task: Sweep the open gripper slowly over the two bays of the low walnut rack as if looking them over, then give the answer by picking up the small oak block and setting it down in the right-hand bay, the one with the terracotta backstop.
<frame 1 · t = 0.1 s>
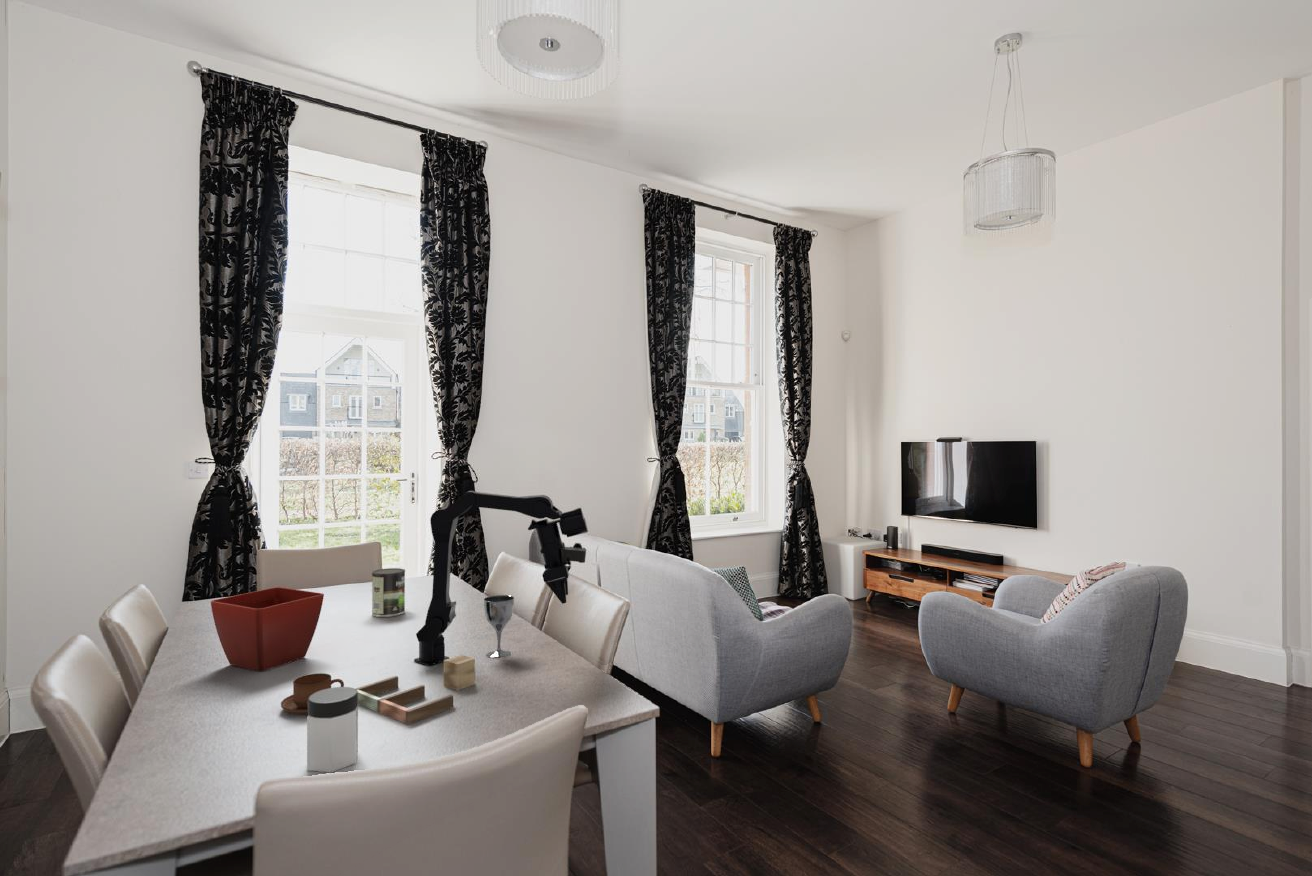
hand: (565, 599, 181), 15 cm above the table, tool pointing down, fingers open, 9 cm apart
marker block: (459, 684, 161), on the table
cup and saucer: (312, 708, 147), on the table
wine glass: (499, 654, 184), on the table
plant pot: (268, 662, 178), on the table
coffee can: (388, 613, 227), on the table
jar: (333, 762, 122), on the table
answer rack: (401, 704, 149), on the table
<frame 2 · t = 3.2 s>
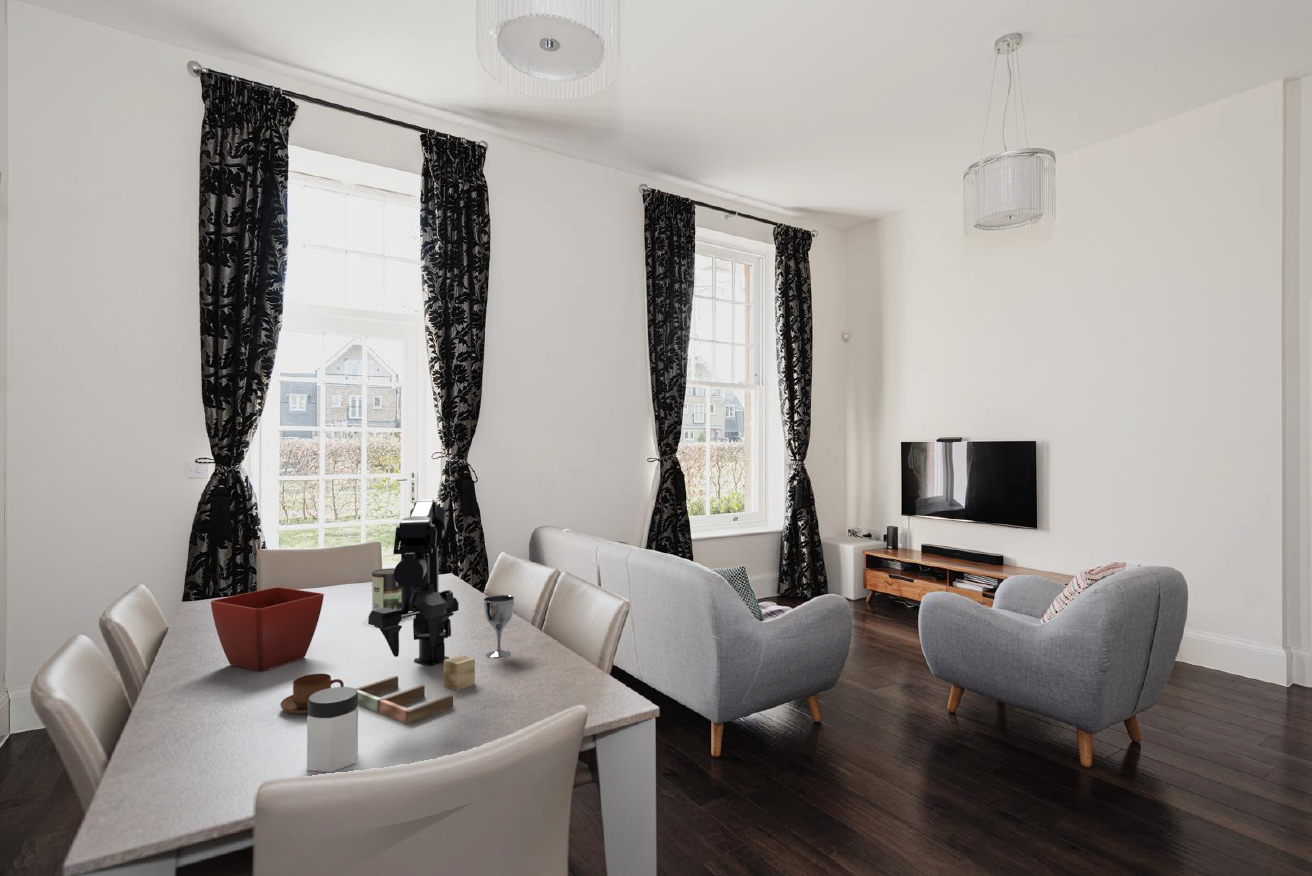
hand: (415, 651, 147), 12 cm above the table, tool pointing down, fingers open, 9 cm apart
nothing on the table moved.
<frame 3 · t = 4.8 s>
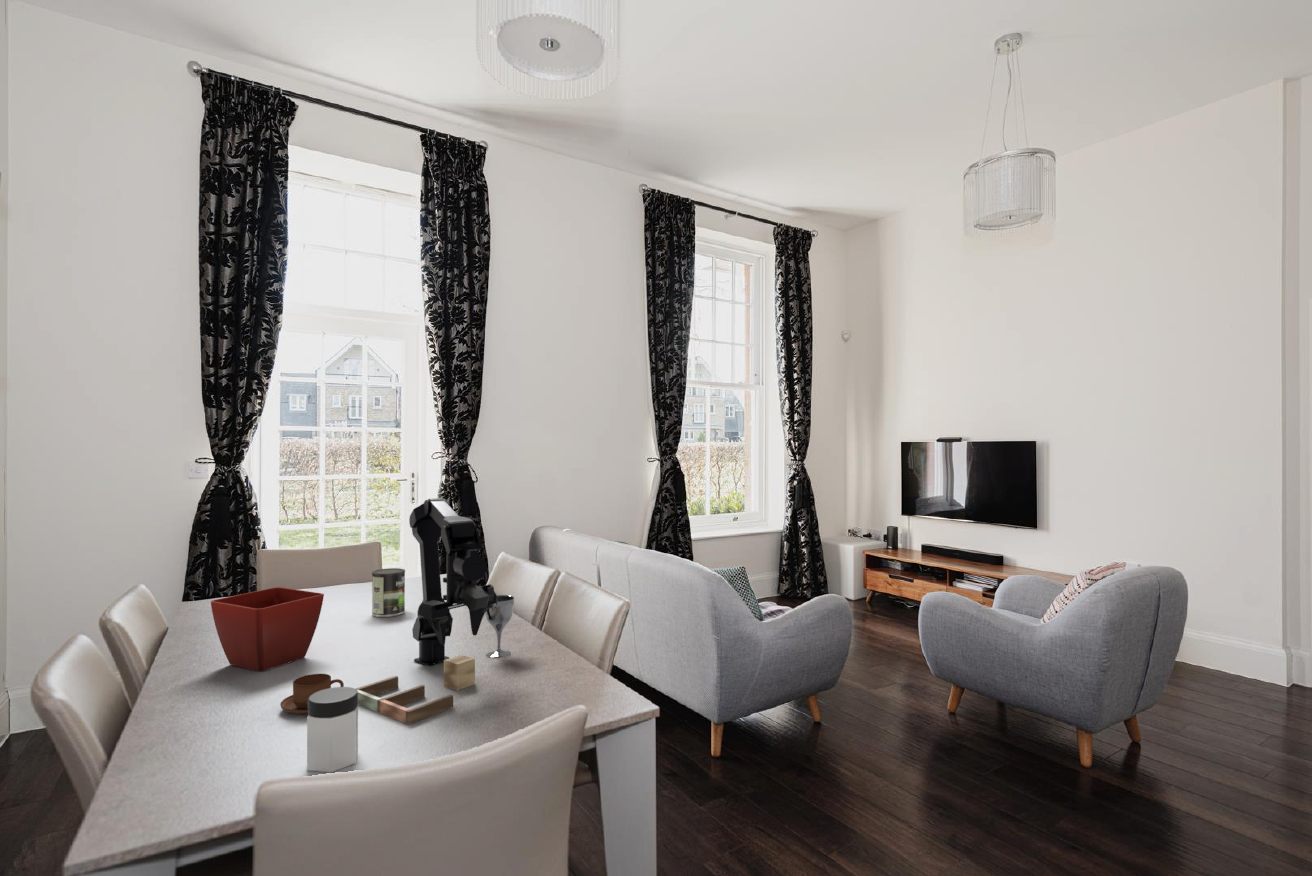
hand: (459, 639, 161), 11 cm above the table, tool pointing down, fingers open, 9 cm apart
nothing on the table moved.
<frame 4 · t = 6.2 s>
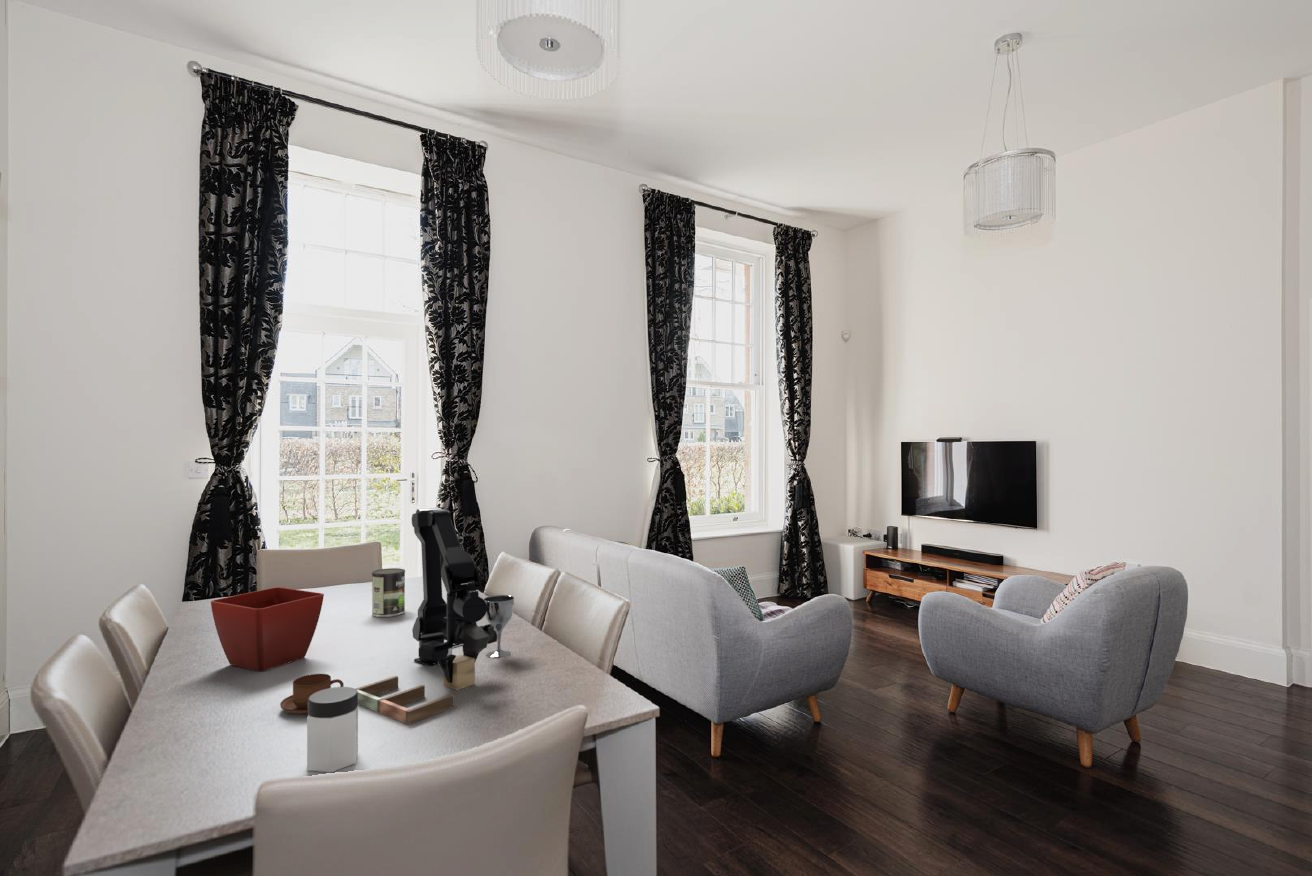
hand: (459, 679, 161), 1 cm above the table, tool pointing down, fingers closed on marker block, 5 cm apart
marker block: (459, 684, 161), on the table, touching gripper
everything else where it was.
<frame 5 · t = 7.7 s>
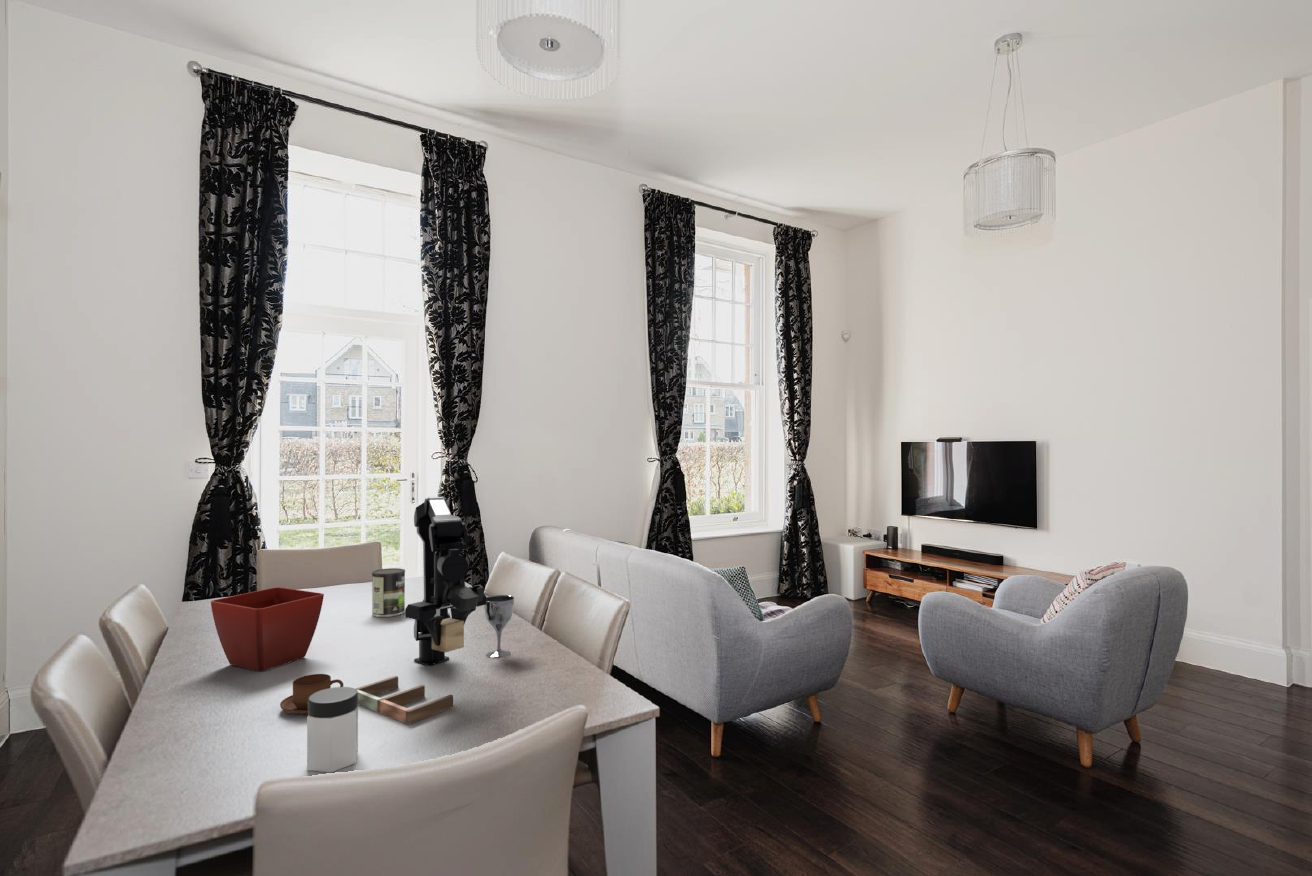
hand: (447, 642, 156), 11 cm above the table, tool pointing down, fingers closed on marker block, 5 cm apart
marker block: (447, 648, 156), point 10 cm above the table, touching gripper
everything else where it was.
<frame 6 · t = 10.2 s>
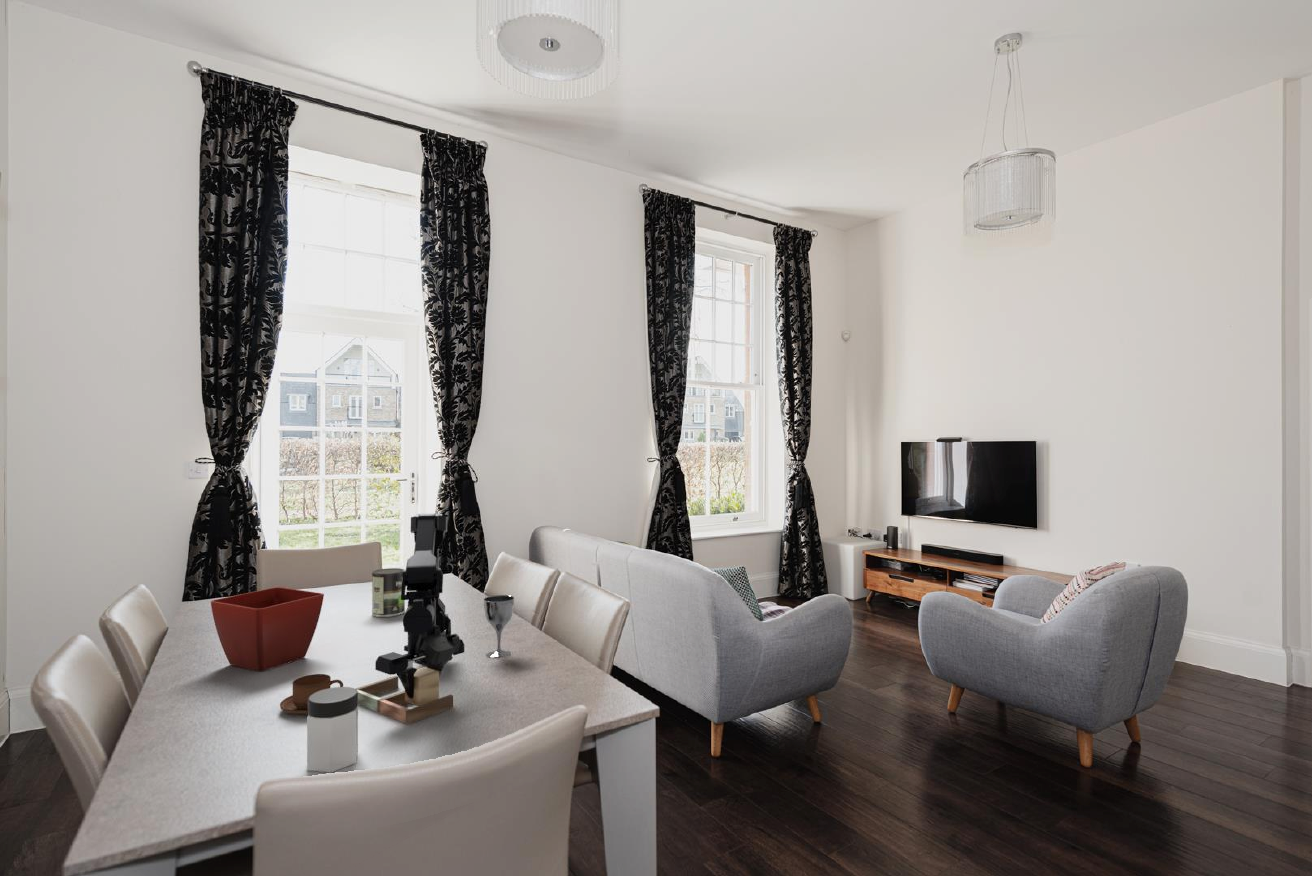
hand: (421, 694, 147), 3 cm above the table, tool pointing down, fingers closed on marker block, 5 cm apart
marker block: (422, 700, 147), point 2 cm above the table, touching gripper
everything else where it was.
when the fingers open (3 cm above the table, at t = 10.2 s): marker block drops 2 cm, on the table.
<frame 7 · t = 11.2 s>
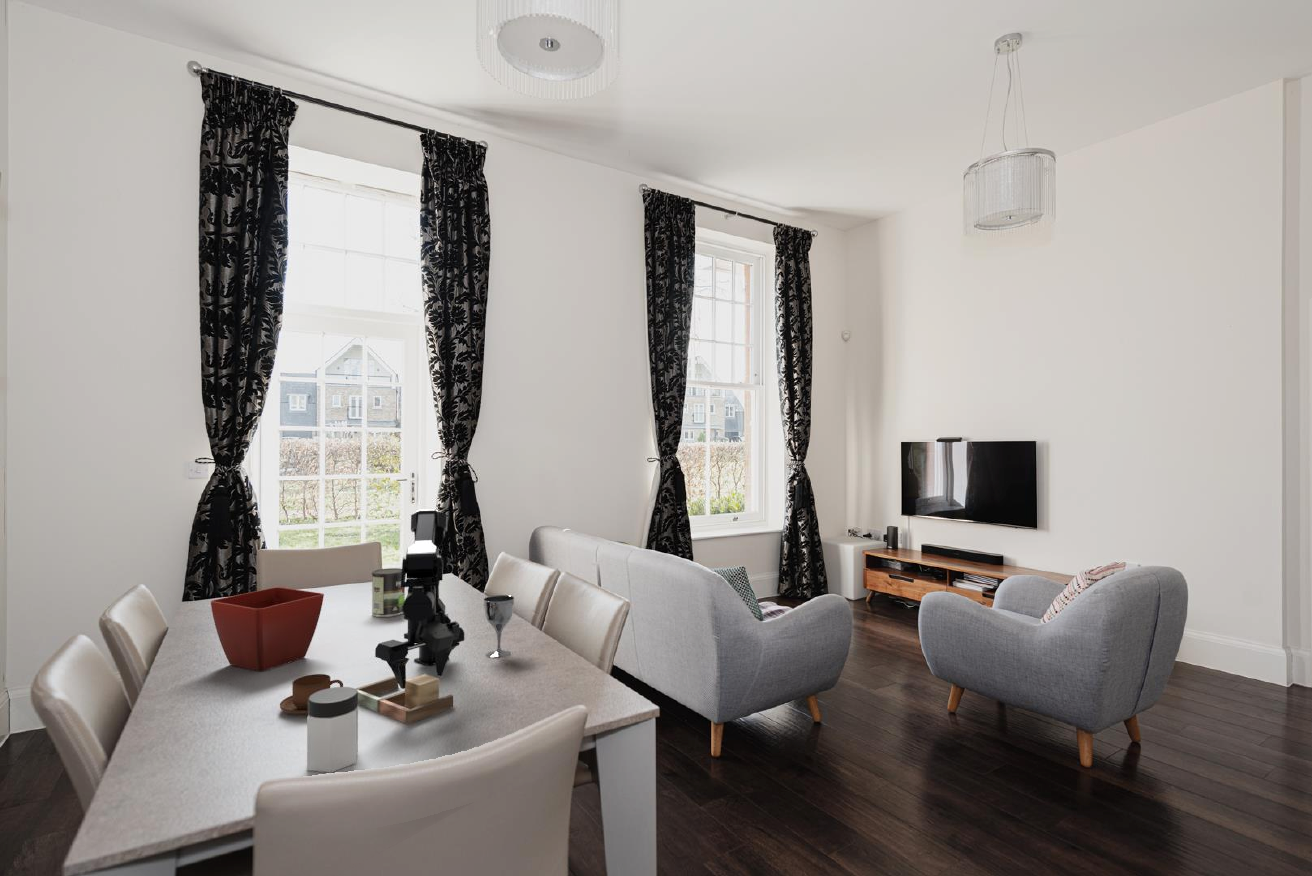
hand: (421, 682, 147), 5 cm above the table, tool pointing down, fingers open, 9 cm apart
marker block: (422, 707, 147), on the table
everything else where it was.
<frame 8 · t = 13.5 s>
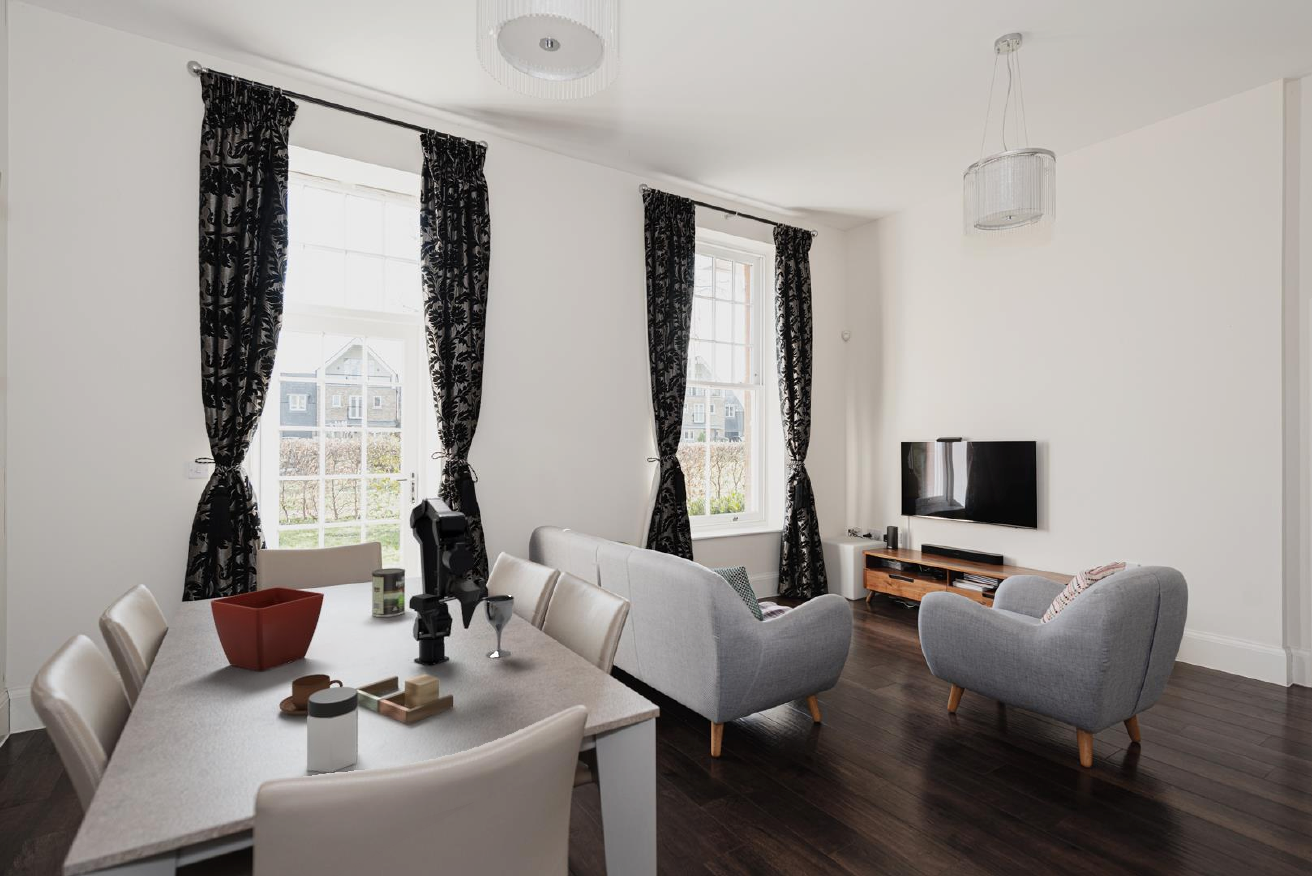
hand: (450, 633, 161), 12 cm above the table, tool pointing down, fingers open, 9 cm apart
nothing on the table moved.
at the end: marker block inside the target area (0.5 cm from its centre), on the table; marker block tilted 0°; the gripper is holding nothing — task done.
